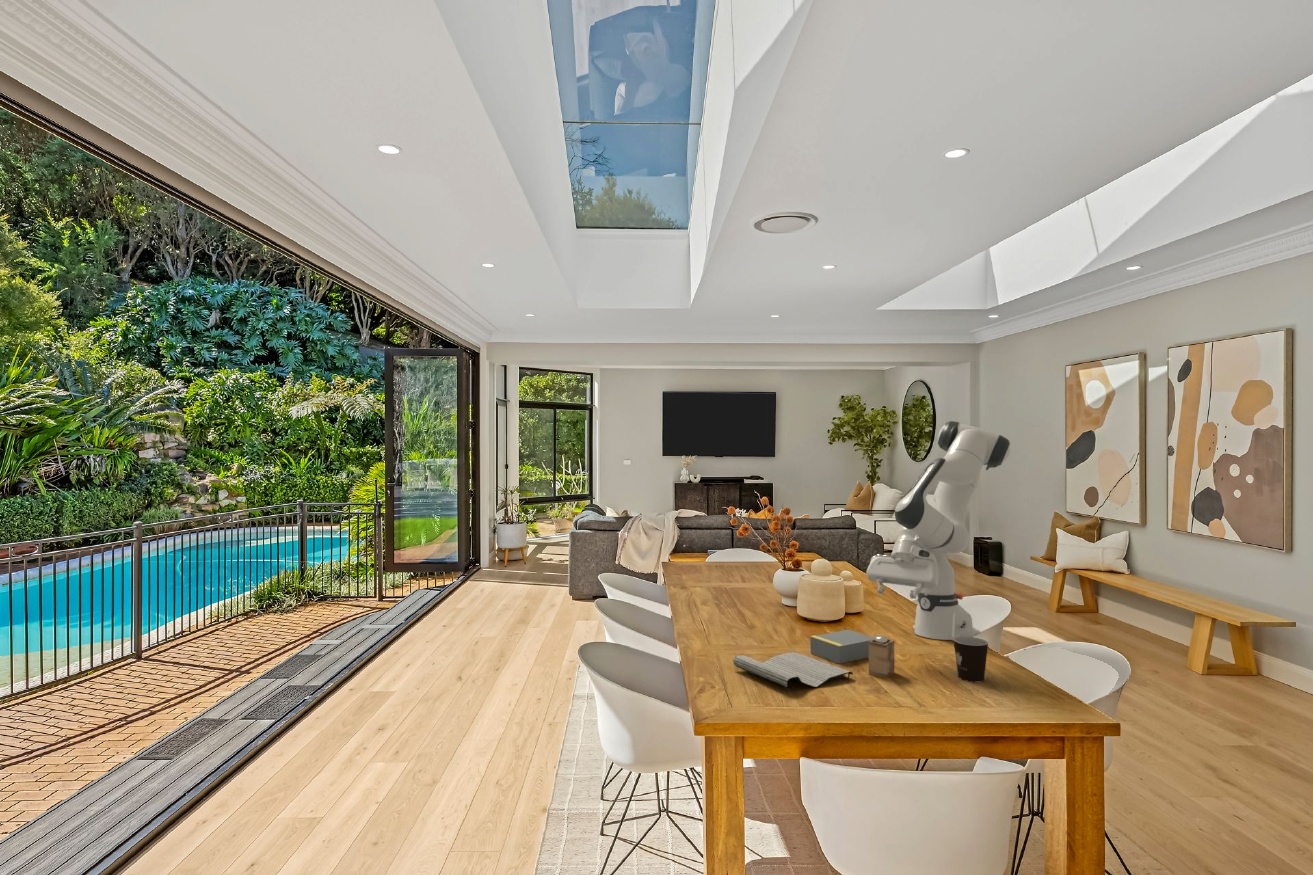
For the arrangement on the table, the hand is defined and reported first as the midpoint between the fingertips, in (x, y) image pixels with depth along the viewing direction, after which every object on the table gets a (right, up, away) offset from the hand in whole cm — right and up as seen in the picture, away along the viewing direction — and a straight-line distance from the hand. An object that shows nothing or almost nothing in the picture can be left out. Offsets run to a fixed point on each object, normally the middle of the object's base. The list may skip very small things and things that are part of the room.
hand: (896, 594), depth 197 cm
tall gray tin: (-7, -20, -9) cm, 23 cm away
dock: (-13, -20, +8) cm, 25 cm away
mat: (-32, -20, -10) cm, 40 cm away
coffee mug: (+16, -20, -12) cm, 28 cm away
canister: (-7, -12, -9) cm, 17 cm away
